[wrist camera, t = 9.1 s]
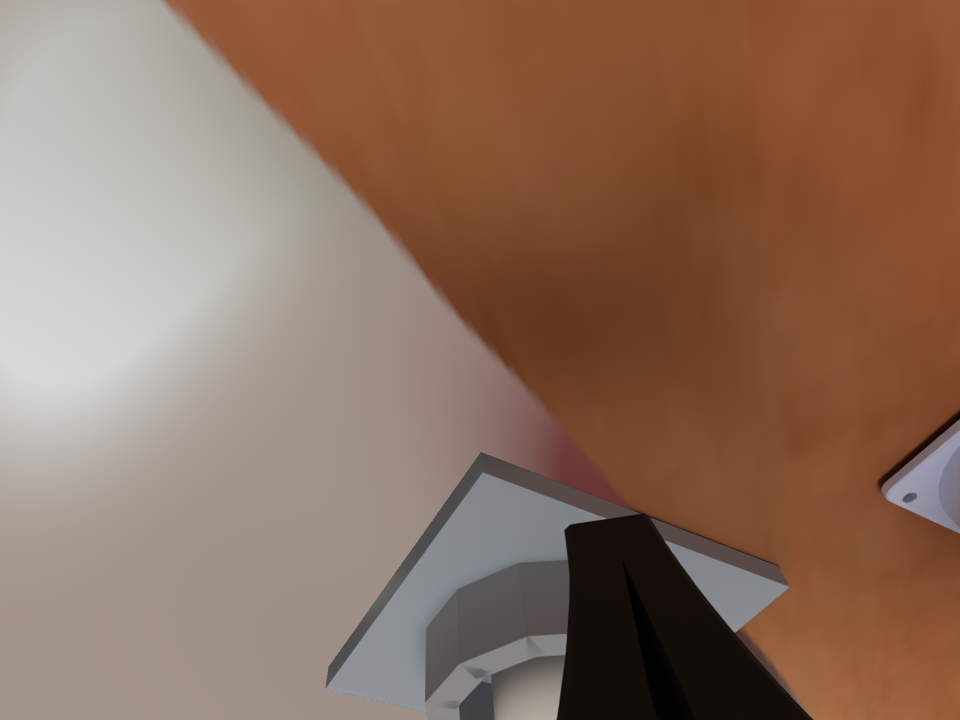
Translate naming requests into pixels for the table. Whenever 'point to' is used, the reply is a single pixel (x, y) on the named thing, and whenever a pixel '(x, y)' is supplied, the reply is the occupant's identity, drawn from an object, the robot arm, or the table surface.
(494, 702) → the white rounded cylinder
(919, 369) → the table surface
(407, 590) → the square flange mount
